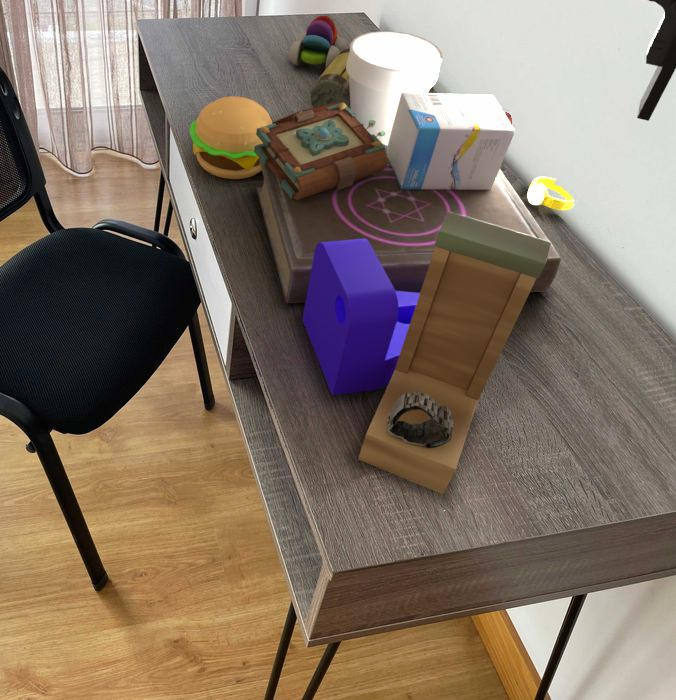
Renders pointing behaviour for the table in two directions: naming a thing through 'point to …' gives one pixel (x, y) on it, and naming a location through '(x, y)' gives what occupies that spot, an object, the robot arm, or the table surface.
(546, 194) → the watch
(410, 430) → the wristwatch
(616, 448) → the table surface
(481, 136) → the ink box
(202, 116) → the hamburger
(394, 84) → the cup
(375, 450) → the two-tone angled block
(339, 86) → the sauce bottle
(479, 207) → the book
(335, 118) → the decorative book
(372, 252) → the bracket
